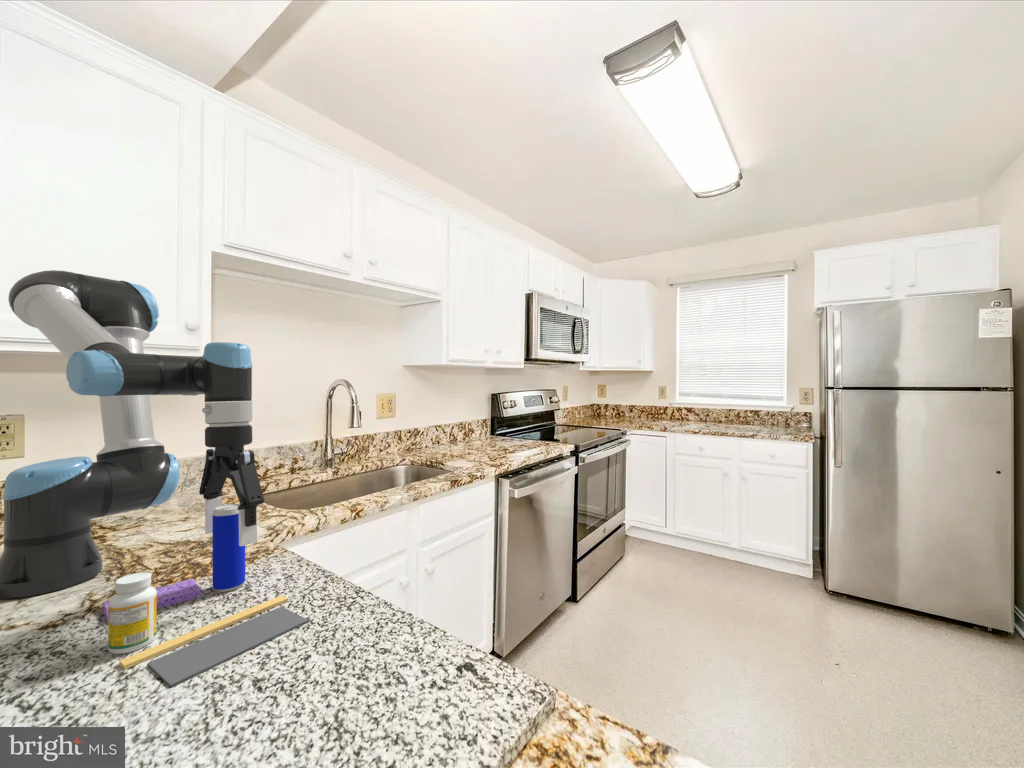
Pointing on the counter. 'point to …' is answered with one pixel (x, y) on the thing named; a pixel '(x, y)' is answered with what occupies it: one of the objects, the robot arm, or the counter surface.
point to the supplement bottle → (132, 614)
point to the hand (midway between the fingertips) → (230, 537)
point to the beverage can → (227, 549)
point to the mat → (224, 646)
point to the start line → (199, 633)
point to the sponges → (171, 594)
